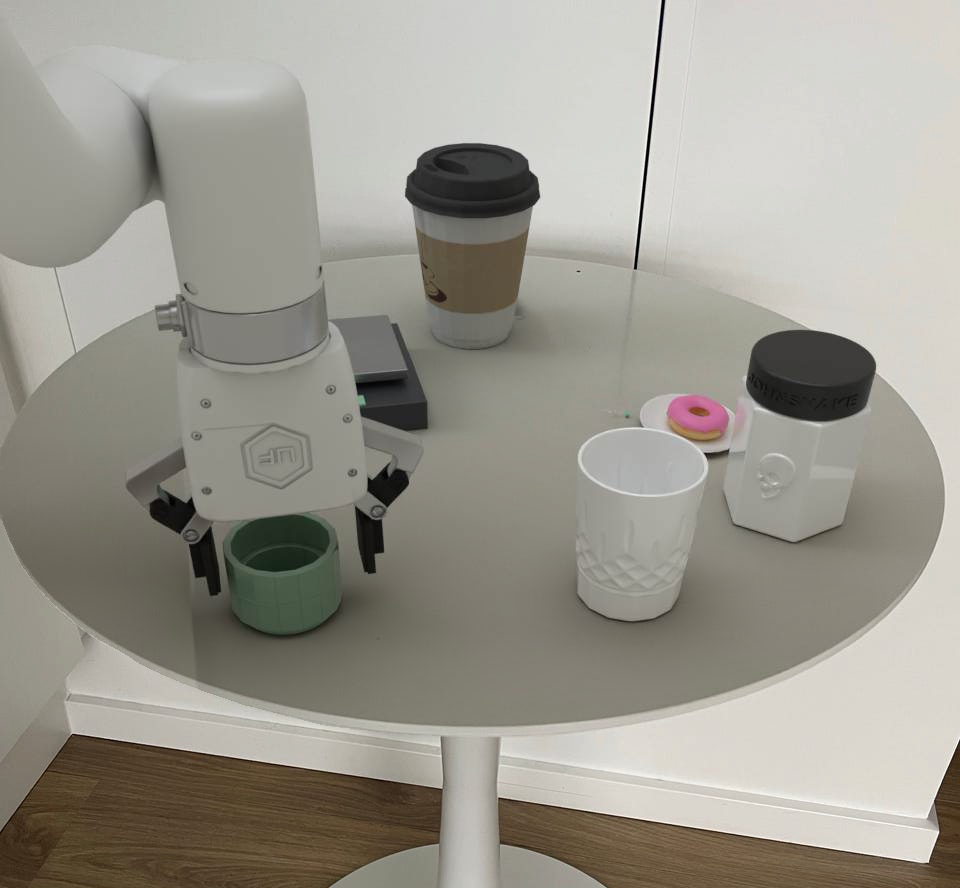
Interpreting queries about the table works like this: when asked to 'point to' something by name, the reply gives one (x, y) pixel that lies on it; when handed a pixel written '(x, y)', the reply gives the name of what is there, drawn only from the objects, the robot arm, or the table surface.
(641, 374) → the table surface
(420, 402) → the scale
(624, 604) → the white cup
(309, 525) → the bowl
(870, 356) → the jar
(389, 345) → the scale platform
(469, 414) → the table surface
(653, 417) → the donut
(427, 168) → the coffee cup
